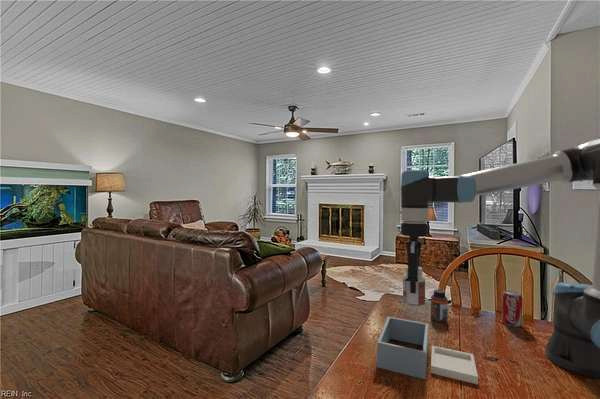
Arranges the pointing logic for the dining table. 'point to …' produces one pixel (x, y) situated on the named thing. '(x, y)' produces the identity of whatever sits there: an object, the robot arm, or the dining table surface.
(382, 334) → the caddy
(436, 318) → the supplement bottle
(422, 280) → the pill bottle
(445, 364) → the tray
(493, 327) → the dining table surface
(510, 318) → the soda can
